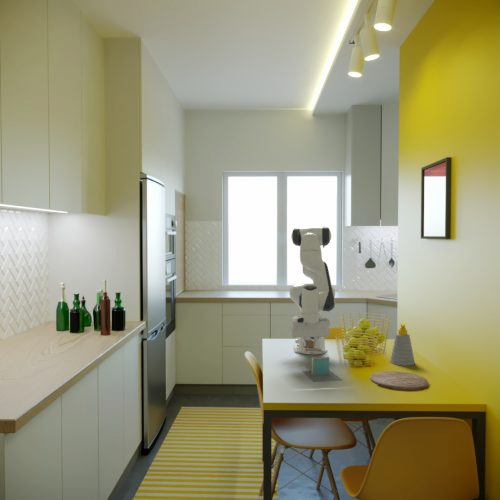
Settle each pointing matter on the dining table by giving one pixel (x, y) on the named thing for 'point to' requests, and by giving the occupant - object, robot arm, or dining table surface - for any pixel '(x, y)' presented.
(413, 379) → the trivet
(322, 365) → the tile
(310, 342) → the turner
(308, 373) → the mat
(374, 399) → the dining table surface
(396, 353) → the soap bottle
